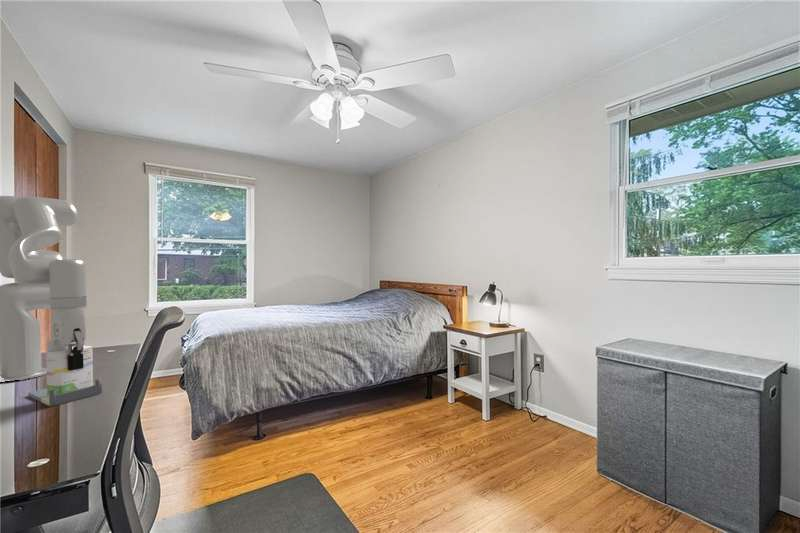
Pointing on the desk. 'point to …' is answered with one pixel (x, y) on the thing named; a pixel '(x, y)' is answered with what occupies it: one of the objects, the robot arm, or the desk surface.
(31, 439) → the desk surface
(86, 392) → the tray
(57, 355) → the ink box
